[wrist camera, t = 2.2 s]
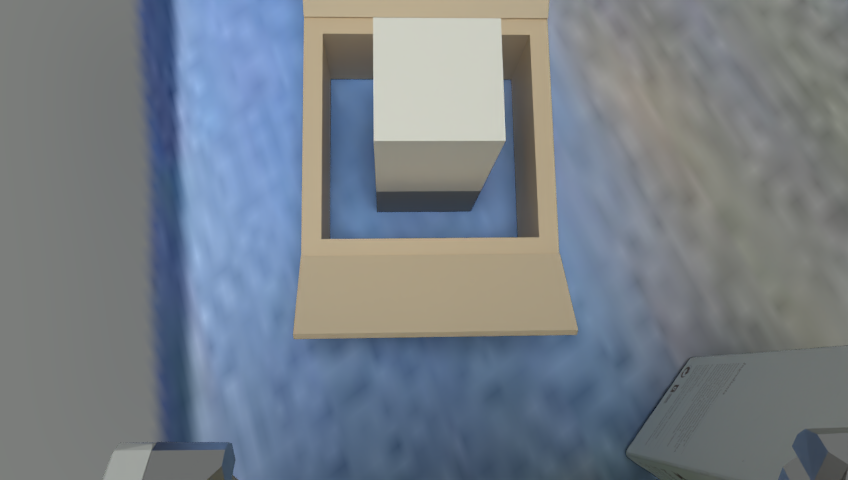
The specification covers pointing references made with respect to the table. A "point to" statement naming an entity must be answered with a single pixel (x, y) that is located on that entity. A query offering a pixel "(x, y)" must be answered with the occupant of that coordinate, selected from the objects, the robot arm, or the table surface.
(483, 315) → the carton
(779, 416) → the skincare box
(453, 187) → the box
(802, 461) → the robot arm
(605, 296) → the table surface
